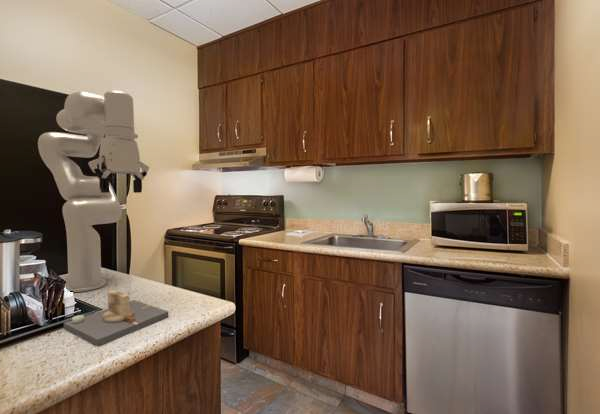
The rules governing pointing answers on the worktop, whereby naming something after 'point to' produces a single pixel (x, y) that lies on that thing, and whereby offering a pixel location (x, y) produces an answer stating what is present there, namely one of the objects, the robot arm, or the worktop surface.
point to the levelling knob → (118, 308)
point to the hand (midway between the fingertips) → (122, 192)
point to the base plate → (113, 323)
